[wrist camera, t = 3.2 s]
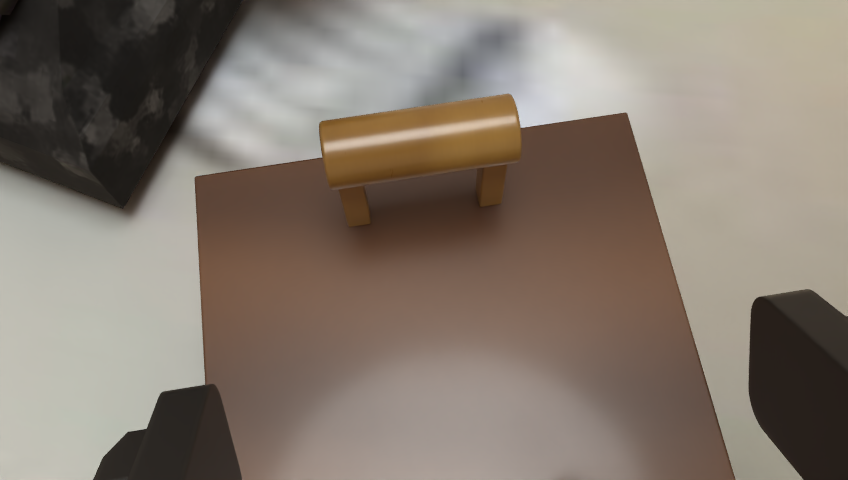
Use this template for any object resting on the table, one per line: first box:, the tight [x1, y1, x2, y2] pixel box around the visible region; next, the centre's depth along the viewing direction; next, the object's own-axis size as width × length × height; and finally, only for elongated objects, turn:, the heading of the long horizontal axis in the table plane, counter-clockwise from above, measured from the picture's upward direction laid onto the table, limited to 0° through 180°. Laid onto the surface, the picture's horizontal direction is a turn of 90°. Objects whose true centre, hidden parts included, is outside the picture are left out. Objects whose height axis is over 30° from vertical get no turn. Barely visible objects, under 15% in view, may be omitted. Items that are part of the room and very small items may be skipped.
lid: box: [195, 94, 735, 480], centre depth 20 cm, size 17×14×6 cm
